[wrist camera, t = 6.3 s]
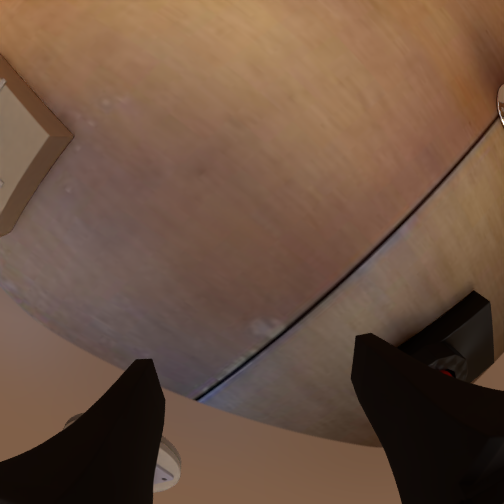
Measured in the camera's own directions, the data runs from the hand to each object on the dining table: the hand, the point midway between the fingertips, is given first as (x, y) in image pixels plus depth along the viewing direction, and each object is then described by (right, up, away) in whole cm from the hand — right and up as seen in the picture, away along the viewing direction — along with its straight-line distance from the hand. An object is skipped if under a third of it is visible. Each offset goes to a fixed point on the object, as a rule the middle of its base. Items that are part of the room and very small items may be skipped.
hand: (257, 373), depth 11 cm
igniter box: (+16, -5, +12) cm, 20 cm away
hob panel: (-17, +12, +4) cm, 21 cm away
